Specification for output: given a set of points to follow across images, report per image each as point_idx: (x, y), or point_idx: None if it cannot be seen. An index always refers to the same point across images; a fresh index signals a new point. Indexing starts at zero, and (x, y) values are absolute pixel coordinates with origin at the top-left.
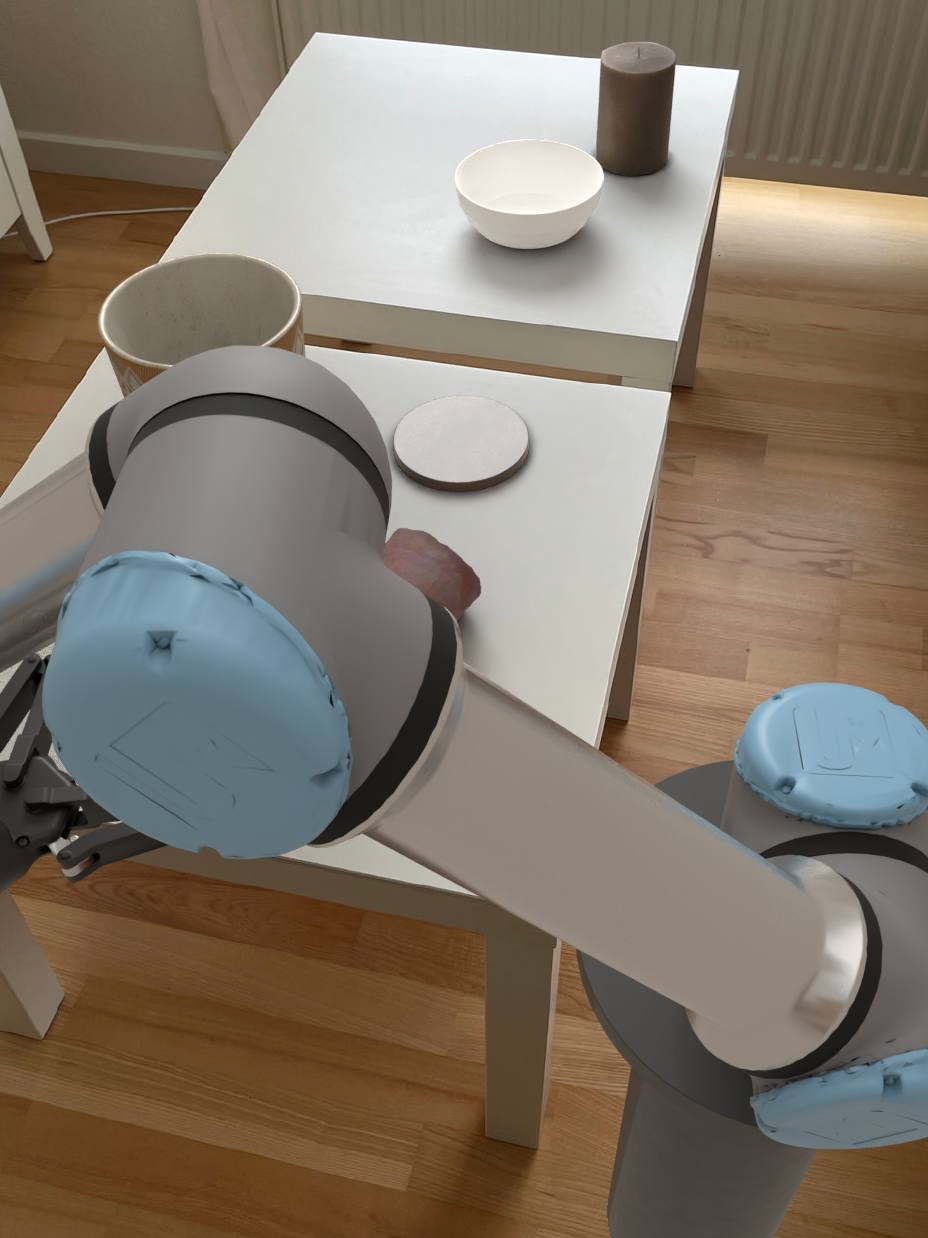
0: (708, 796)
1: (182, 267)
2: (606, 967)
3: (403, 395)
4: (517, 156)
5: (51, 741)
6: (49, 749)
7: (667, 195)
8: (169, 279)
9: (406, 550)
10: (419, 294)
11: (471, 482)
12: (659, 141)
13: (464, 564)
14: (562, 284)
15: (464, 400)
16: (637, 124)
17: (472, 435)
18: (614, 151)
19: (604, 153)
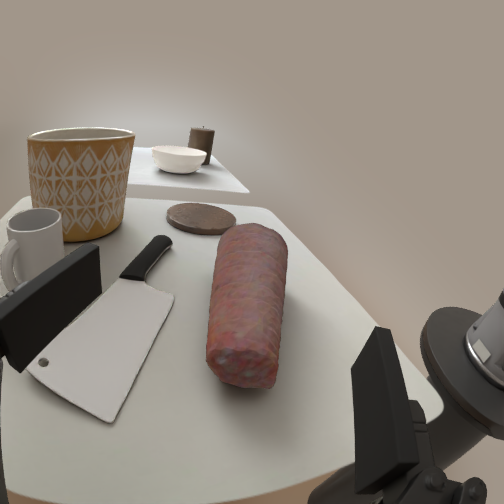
0: (442, 329)
1: (66, 132)
2: (492, 411)
3: (159, 206)
4: (168, 151)
5: (2, 479)
6: (7, 497)
7: (216, 168)
8: (59, 137)
9: (251, 233)
10: (146, 182)
11: (221, 228)
12: (209, 154)
13: (284, 242)
14: (200, 181)
15: (192, 204)
16: (204, 147)
17: (206, 214)
18: None
19: None
